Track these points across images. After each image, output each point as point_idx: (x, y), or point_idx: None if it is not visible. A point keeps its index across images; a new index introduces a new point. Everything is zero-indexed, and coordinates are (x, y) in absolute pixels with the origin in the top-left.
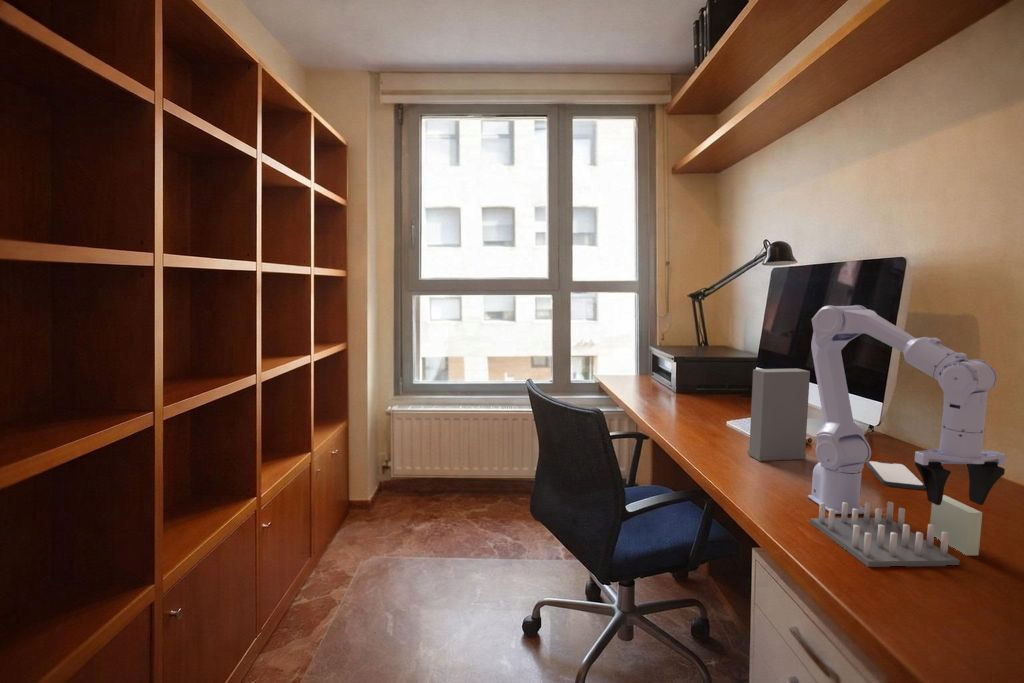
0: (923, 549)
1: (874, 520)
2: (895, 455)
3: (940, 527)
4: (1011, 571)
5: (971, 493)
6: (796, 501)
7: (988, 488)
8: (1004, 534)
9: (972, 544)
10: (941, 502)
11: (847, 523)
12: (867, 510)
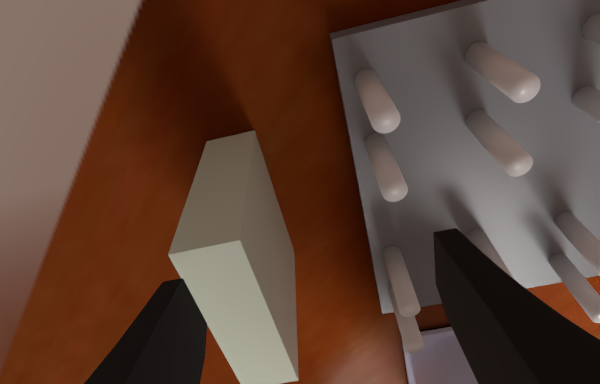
0: (418, 110)
1: None
2: None
3: (284, 252)
4: (143, 29)
5: (195, 359)
6: None
7: (107, 377)
8: (59, 294)
9: (227, 155)
10: (437, 241)
11: (551, 254)
12: None
